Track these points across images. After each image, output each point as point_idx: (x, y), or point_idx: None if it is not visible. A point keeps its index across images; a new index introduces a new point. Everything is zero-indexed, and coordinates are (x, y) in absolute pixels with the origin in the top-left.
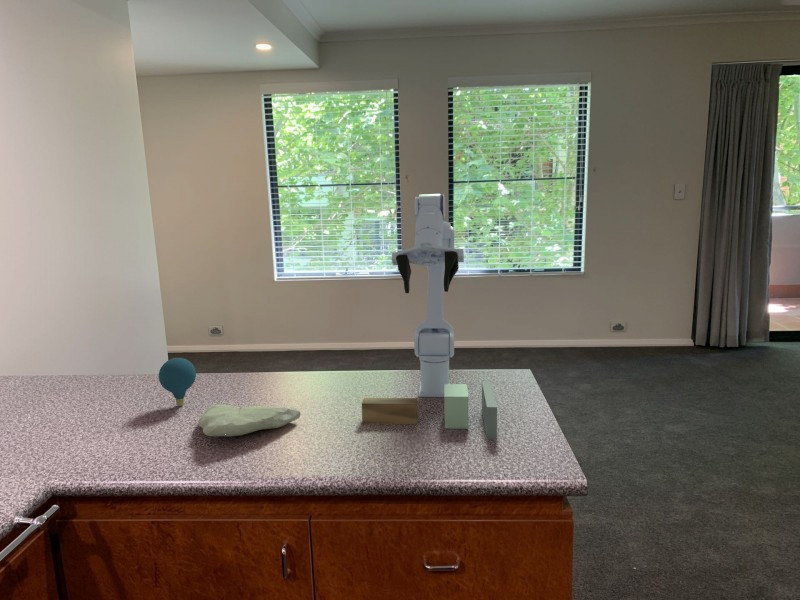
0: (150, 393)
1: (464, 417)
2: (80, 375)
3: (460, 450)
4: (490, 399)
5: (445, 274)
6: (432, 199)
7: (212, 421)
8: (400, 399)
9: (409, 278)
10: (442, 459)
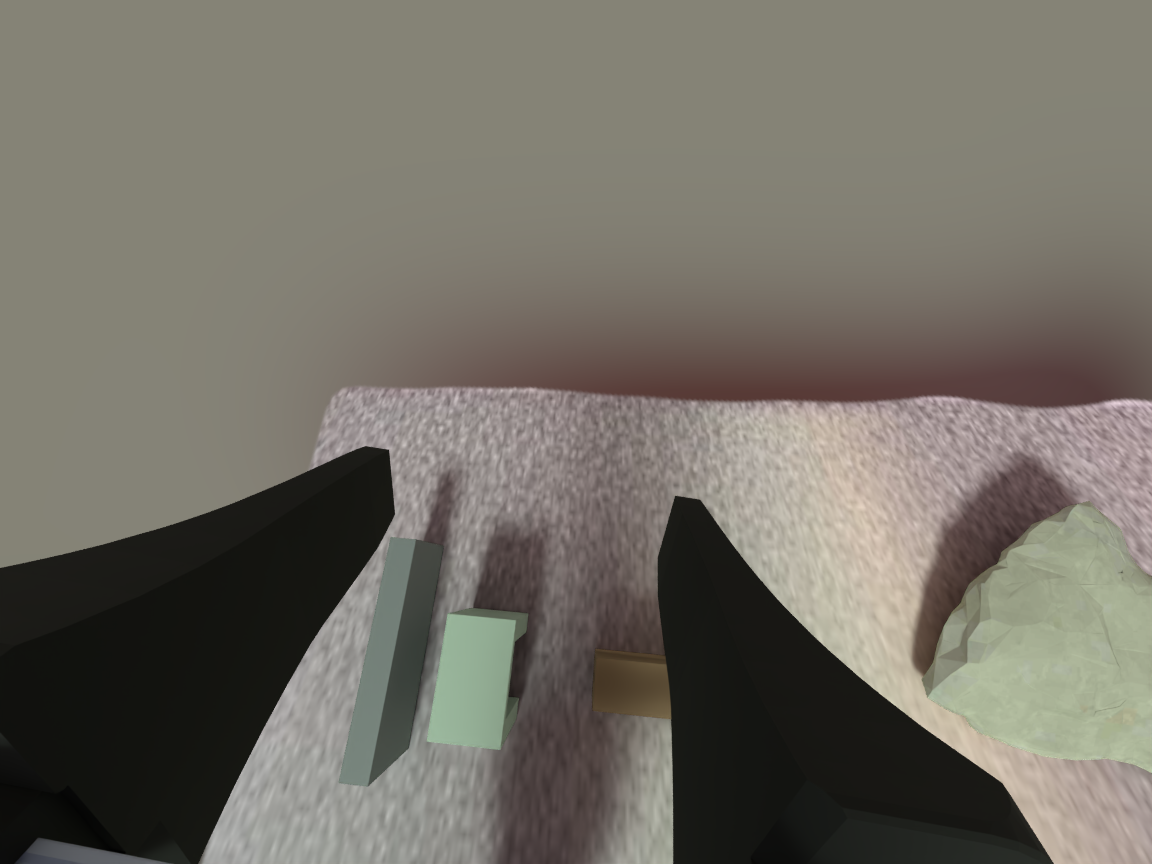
0: None
1: (474, 610)
2: None
3: (509, 498)
4: (390, 597)
5: (313, 486)
6: None
7: (1131, 561)
8: (644, 702)
9: (676, 736)
10: (549, 462)
